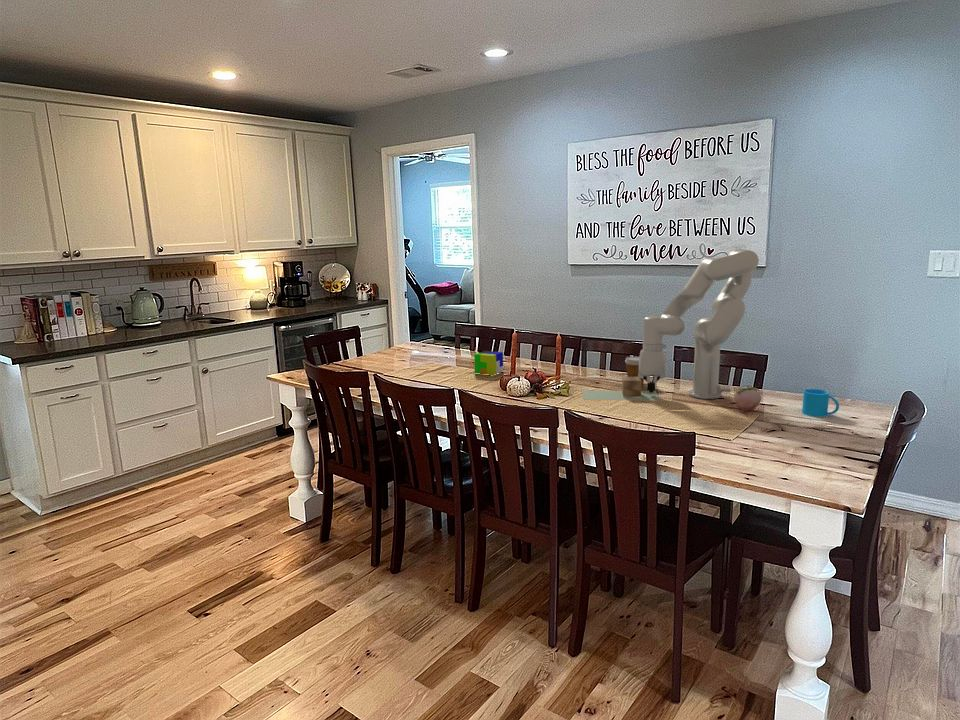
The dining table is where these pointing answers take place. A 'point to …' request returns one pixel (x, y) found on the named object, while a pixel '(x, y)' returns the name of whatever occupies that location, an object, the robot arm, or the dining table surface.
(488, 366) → the puzzle toy
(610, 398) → the mat
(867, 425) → the dining table surface
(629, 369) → the disposable coffee cup
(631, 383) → the walnut block
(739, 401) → the decorative fruit
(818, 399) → the mug
